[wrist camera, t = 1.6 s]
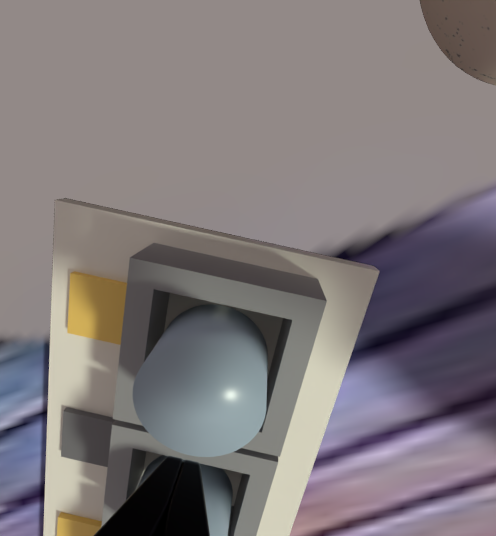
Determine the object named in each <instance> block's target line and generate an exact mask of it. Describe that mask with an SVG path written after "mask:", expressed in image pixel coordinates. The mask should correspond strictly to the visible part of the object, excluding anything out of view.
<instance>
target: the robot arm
mask: <svg viewBox="0 0 496 536" xmlns="http://www.w3.org/2000/svg"><path fill="white" fill-rule="evenodd" d="M94 536H210V532H209V524H208V517H207V510H206V503H205V495H204V488H203V481H202V473H201V466H200V463H199V462H195V461H191V460H185V461H184V462H183V459H182V458H178V457H174V456H168V457H166V458H165V459H164V460H163V461H162V463H161V464H160V465H159V466H158V467H157V468H156V469H155V470H154V471H153V472H152V473H151V474H150V475H149V477H148V478H147V479H146V480H145V481H144V482H143V483H142V484H141V485H140V486H139V487H138V488H137V489H136V490H135V492H134V493H133V494H132V495H131V496H130V497H129V498H128V499H127V500H126V501H125V502H124V503H123V504H122V506H121V507H120V508H119V509H118V510H117V511H116V512H115V513H114V514H113V515H112V516H111V517H110V518H109V520H108V521H107V522H106V523H105V524H104V525H103V526H102V527H101V528H100V529H99V530H98V531H97V532H96V533H95V535H94Z"/></svg>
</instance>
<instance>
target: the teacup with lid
mask: <svg viewBox="0 0 496 536" xmlns="http://www.w3.org/2000/svg"><path fill="white" fill-rule="evenodd" d="M420 4H421V8H422V12H423V15H424V18H425V21H426V24H427V26H428V29H429V31H430V33H431V34H432V36H433V38H434V40H435V41H436V43H437V45H438V46H439V48H440V49H441V51H442V52H443V53H444V54H445V55H446V56H447V57H448V58H449V60H450V61H452V62H453V63H454V64H455V65H456V66H457V67H458V68H460V69H461V70H463V71H464V72H465V73H467V74H469V75H471V76H473V77H474V78H476V79H479V80H481V81H484V82H486V83H489V84H493V85H496V0H420Z"/></svg>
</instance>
